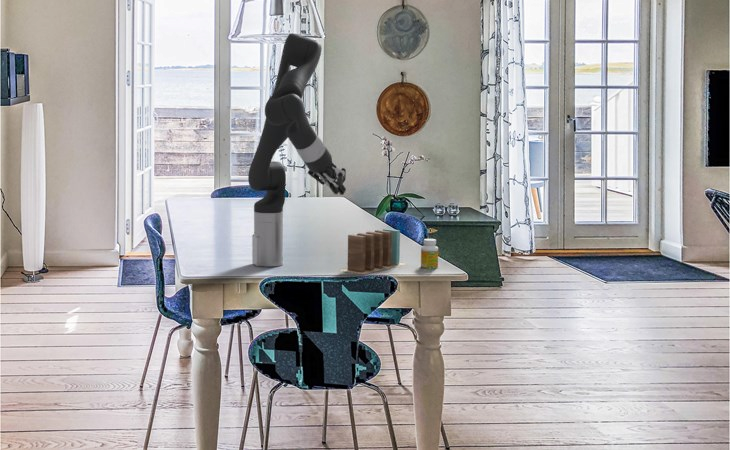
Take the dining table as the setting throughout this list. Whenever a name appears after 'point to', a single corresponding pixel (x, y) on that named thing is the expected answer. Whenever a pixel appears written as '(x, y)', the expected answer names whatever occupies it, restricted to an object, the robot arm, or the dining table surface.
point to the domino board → (374, 269)
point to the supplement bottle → (429, 254)
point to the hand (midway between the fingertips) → (340, 192)
